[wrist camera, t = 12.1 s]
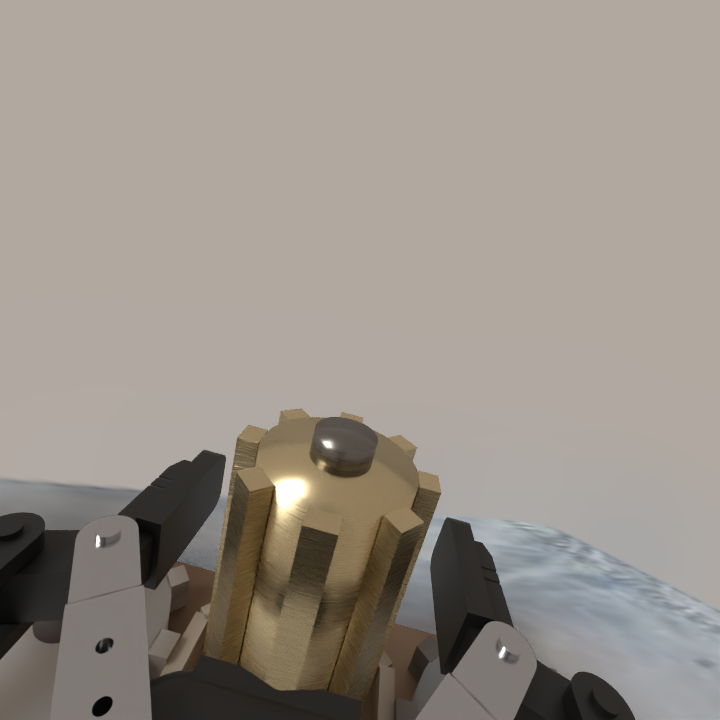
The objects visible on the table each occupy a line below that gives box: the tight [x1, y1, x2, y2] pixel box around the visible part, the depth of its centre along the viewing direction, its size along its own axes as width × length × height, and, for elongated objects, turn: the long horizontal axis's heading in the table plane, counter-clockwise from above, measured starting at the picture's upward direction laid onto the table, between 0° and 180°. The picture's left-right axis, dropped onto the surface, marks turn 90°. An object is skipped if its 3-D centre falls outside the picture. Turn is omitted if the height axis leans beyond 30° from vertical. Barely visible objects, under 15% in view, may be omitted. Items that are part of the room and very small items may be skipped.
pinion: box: [203, 409, 441, 711], centre depth 12 cm, size 6×6×12 cm
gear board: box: [0, 561, 557, 720], centre depth 14 cm, size 25×9×4 cm, turn 83°
